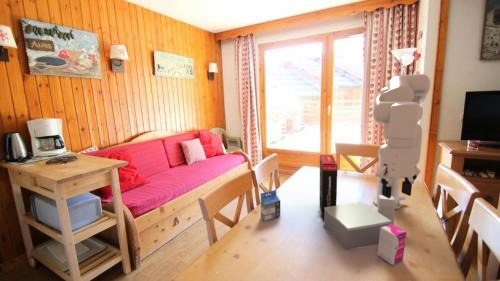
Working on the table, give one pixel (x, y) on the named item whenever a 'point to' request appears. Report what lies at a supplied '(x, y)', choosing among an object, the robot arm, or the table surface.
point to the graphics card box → (327, 182)
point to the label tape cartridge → (270, 205)
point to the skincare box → (386, 207)
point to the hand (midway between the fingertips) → (396, 195)
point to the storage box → (352, 234)
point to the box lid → (356, 216)
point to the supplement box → (391, 244)
